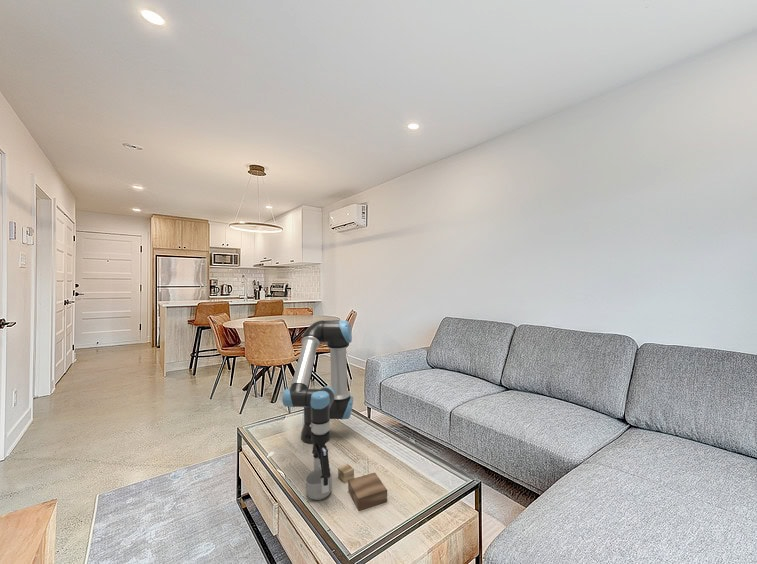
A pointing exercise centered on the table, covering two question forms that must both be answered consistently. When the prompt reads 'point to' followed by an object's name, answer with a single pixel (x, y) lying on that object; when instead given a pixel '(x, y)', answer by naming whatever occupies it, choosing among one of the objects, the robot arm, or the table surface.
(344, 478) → the oak cube
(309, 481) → the teacup
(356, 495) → the pedestal block
